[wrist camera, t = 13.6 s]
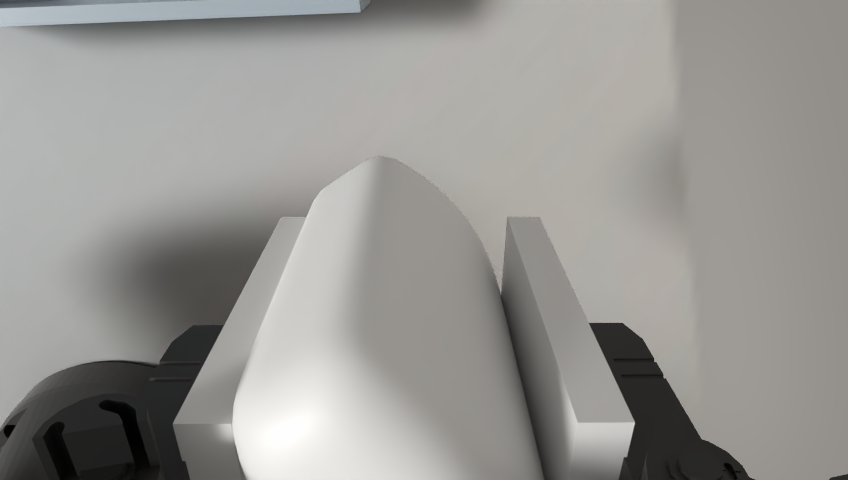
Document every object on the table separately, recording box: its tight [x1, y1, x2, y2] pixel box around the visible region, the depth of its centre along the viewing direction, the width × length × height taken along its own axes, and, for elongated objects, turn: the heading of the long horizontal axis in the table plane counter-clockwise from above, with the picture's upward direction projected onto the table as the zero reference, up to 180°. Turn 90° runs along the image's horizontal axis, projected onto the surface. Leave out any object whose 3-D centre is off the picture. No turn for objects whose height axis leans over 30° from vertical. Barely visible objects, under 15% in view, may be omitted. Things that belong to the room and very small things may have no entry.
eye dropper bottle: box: [232, 156, 545, 480], centre depth 9 cm, size 4×6×12 cm
